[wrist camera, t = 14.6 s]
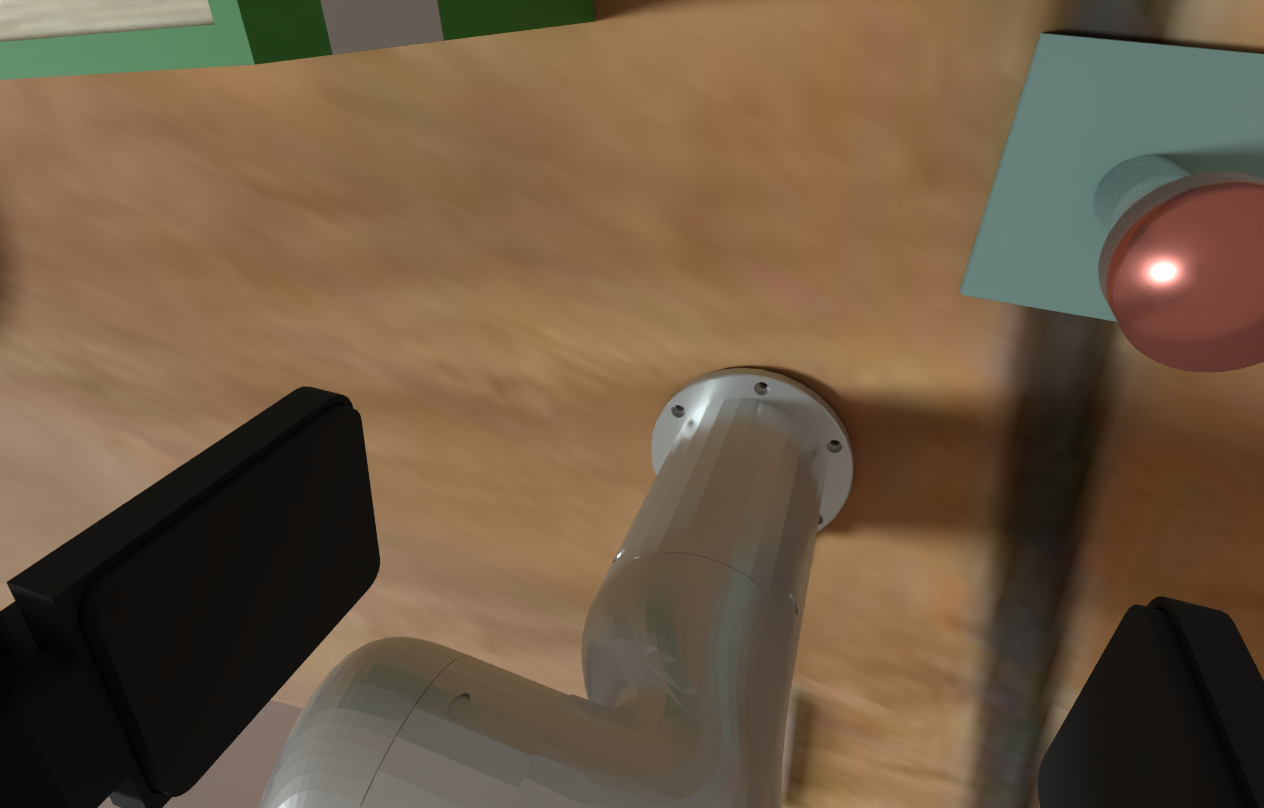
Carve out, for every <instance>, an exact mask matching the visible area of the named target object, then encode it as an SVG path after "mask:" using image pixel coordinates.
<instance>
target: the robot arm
mask: <svg viewBox="0 0 1264 808" xmlns="http://www.w3.org/2000/svg"><path fill="white" fill-rule="evenodd" d="M760 382H764V383H766V384H767V385H762V384H761V383H760ZM679 405H680V406H682V407H683V408H682V407H680V406H679ZM832 440H837V441H838V442H834V441H832ZM651 456H652V465H653V468H654V471H655V475H656V478H655V480H654V482H653V484H652V486H651V488H650V490H649V492H648V494H647V496H646V498H645V500H644V502H643V504H642V506H641V508H640V509H639V511H638V513H637V515H636V517H635V519H634V521H633V523H632V525H631V527H630V529H629V531H628V533H627V535H626V537H625V539H624V541H623V543H622V545H621V547H620V549H619V551H618V553H617V555H616V557H615V559H614V561H613V563H612V565H611V567H610V569H609V570H608V572H607V574H606V576H605V578H604V580H603V582H602V584H601V586H600V588H599V590H598V592H597V594H596V596H595V598H594V600H593V602H592V604H591V607H590V609H589V612H588V615H587V618H586V622H585V627H584V631H583V637H582V669H583V675H584V682H585V688H586V692H587V696H588V700H587V699H584V698H581V697H579V696H576V695H573V694H572V695H567V694H565V693H562V692H560V691H557V690H555V689H552V688H550V687H547V686H545V685H542V684H539V683H537V682H534V681H532V680H529V679H527V678H524V677H522V676H519V675H517V674H514V673H512V672H509V671H507V670H504V669H502V668H499V667H497V666H494V665H492V664H489V663H487V662H484V661H482V660H479V659H477V658H474V657H472V656H469V655H467V654H464V653H462V652H459V651H456V650H454V649H451V648H449V647H446V646H442V645H439V644H436V643H433V642H430V641H426V640H422V639H417V638H409V637H391V638H384V639H380V640H377V641H373V642H370V643H368V644H366V645H364V646H362V647H360V648H359V649H357V650H355V651H353V652H352V653H351V654H349V655H348V656H347V657H345V658H344V659H343V660H342V661H341V662H340V663H339V664H338V665H337V666H336V667H335V668H334V669H333V670H332V671H331V672H330V673H329V674H328V675H327V676H326V678H325V679H324V680H323V681H322V683H321V684H320V685H319V686H318V688H317V689H316V690H315V692H314V693H313V695H312V696H311V698H310V699H309V701H308V702H307V704H306V705H305V707H304V708H303V710H302V712H301V714H300V715H299V717H298V719H297V721H296V723H295V725H294V727H293V729H292V731H291V733H290V735H289V737H288V739H287V740H286V743H285V745H284V747H283V749H282V751H281V753H280V755H279V757H278V760H277V762H276V765H275V767H274V769H273V772H272V774H271V777H270V779H269V782H268V784H267V787H266V789H265V792H264V795H263V798H262V801H261V803H260V806H259V808H782V803H781V788H782V761H783V750H784V739H785V728H786V721H787V713H788V706H789V699H790V692H791V686H792V679H793V673H794V667H795V661H796V654H797V648H798V642H799V636H800V630H801V624H802V618H803V612H804V606H805V600H806V594H807V588H808V582H809V576H810V570H811V564H812V558H813V552H814V546H815V539H816V533H817V532H818V531H820V530H821V529H823V528H824V527H825V526H826V525H827V524H828V523H830V522H831V521H832V520H833V519H834V518H835V517H836V516H837V514H838V513H839V511H840V510H841V509H842V507H843V506H844V504H845V502H846V500H847V497H848V495H849V492H850V490H851V485H852V478H853V465H854V456H853V451H852V446H851V441H850V438H849V436H848V434H847V431H846V429H845V427H844V425H843V423H842V421H841V420H840V419H839V417H838V416H837V414H836V413H835V412H834V410H833V409H832V407H831V406H829V405H828V404H827V403H826V402H825V401H824V400H823V399H822V398H821V397H820V396H819V395H818V394H817V393H815V392H814V391H812V390H811V389H809V388H808V387H806V386H805V385H803V384H802V383H800V382H798V381H795V380H793V379H791V378H789V377H786V376H784V375H782V374H778V373H774V372H770V371H766V370H762V369H752V368H733V369H723V370H719V371H715V372H712V373H708V374H705V375H702V376H700V377H698V378H696V379H695V380H693V381H691V382H689V383H687V384H686V385H685V386H683V387H682V388H681V389H680V390H679V391H677V392H676V393H675V394H674V395H673V396H672V398H671V399H670V400H669V401H668V403H667V404H666V405H665V407H664V408H663V410H662V412H661V414H660V416H659V417H658V419H657V422H656V425H655V428H654V431H653V434H652V442H651ZM379 567H380V555H379V547H378V540H377V532H376V525H375V517H374V510H373V502H372V495H371V487H370V480H369V472H368V465H367V457H366V450H365V442H364V435H363V427H362V420H361V416H360V414H359V412H358V411H357V410H355V409H353V406H352V403H351V401H350V400H349V398H348V397H346V396H344V395H341V394H337V393H333V392H329V391H325V390H321V389H317V388H313V387H300V388H298V389H296V390H294V391H293V392H291V393H290V394H288V395H287V396H285V397H284V398H282V399H281V400H279V401H278V402H276V403H275V404H273V405H272V406H270V407H269V408H267V409H266V410H264V411H263V412H261V413H260V414H258V415H257V416H255V417H254V418H252V419H251V420H249V421H248V422H246V423H245V424H243V425H242V426H240V427H239V428H237V429H236V430H234V431H233V432H231V433H230V434H228V435H227V436H225V437H224V438H222V439H221V440H219V441H218V442H216V443H215V444H213V445H212V446H210V447H209V448H207V449H206V450H204V451H203V452H201V453H200V454H198V455H197V456H195V457H194V458H192V459H191V460H189V461H188V462H186V463H185V464H183V465H182V466H180V467H179V468H177V469H176V470H174V471H173V472H171V473H170V474H168V475H167V476H165V477H164V478H162V479H161V480H159V481H158V482H156V483H155V484H153V485H152V486H150V487H149V488H147V489H146V490H144V491H143V492H141V493H140V494H138V495H137V496H135V497H134V498H132V499H131V500H129V501H128V502H126V503H125V504H123V505H122V506H120V507H119V508H117V509H116V510H114V511H113V512H111V513H110V514H108V515H107V516H105V517H104V518H102V519H101V520H99V521H98V522H96V523H95V524H93V525H92V526H90V527H89V528H87V529H86V530H84V531H83V532H81V533H80V534H78V535H77V536H75V537H74V538H72V539H71V540H69V541H68V542H66V543H65V544H63V545H62V546H60V547H59V548H57V549H56V550H54V551H53V552H51V553H50V554H48V555H47V556H45V557H44V558H42V559H41V560H39V561H38V562H36V563H35V564H33V565H32V566H30V567H29V568H27V569H26V570H24V571H23V572H21V573H20V574H18V575H17V576H15V577H14V578H12V579H11V580H9V581H8V582H7V584H8V586H9V588H10V591H11V593H12V595H13V597H14V599H15V602H13V603H12V604H10V605H9V606H7V607H6V608H5V609H3V610H2V611H0V808H97V807H98V806H99V805H100V804H101V803H102V802H103V801H104V800H105V799H106V798H107V797H108V796H109V797H110V798H111V801H112V803H113V804H114V805H116V806H119V807H121V808H163V806H164V805H165V804H166V803H167V802H168V801H169V800H170V799H171V798H172V797H177V796H180V795H182V794H184V793H185V792H187V791H188V790H189V789H191V788H192V787H193V786H194V785H195V784H196V783H197V782H198V781H199V779H200V778H201V777H202V776H203V775H204V774H205V773H206V772H207V770H208V769H209V768H210V767H211V766H212V765H213V764H214V762H215V761H216V760H217V759H218V758H219V757H220V756H221V755H222V753H223V752H224V751H225V750H226V749H227V748H228V747H229V745H230V744H231V743H232V742H233V741H234V740H235V739H236V738H237V737H238V735H239V734H240V733H241V732H242V731H243V730H244V729H245V728H246V726H247V725H248V724H249V723H250V722H251V721H252V720H253V719H254V717H255V716H256V715H257V714H258V713H259V712H260V711H261V709H262V708H263V707H264V706H265V705H266V704H267V703H268V702H269V701H270V699H271V698H272V697H273V696H274V695H275V694H276V693H277V692H278V690H279V689H280V688H281V687H282V686H283V685H284V684H285V683H286V681H287V680H288V679H289V678H290V677H291V676H292V675H293V674H294V672H295V671H296V670H297V669H298V668H299V667H300V666H301V665H302V663H303V662H304V661H305V660H306V659H307V658H308V657H309V656H310V654H311V653H312V652H313V651H314V650H315V649H316V648H317V647H318V645H319V644H320V643H321V642H322V641H323V640H324V639H325V637H326V636H327V635H328V634H329V633H330V632H331V631H332V630H333V628H334V627H335V626H336V625H337V624H338V623H339V622H340V621H341V619H342V618H343V617H344V616H345V615H346V614H347V613H348V612H349V610H350V609H351V608H352V607H353V606H354V605H355V604H356V603H357V601H358V600H359V599H360V598H361V597H362V596H363V595H364V594H365V592H366V591H367V590H368V589H369V588H370V587H371V585H372V584H373V583H374V581H375V579H376V577H377V574H378V571H379ZM1038 796H1039V802H1040V808H1264V681H1263V679H1262V677H1261V675H1260V673H1259V671H1258V669H1257V667H1256V665H1255V663H1254V661H1253V659H1252V657H1251V655H1250V653H1249V651H1248V649H1247V647H1246V645H1245V643H1244V641H1243V639H1242V637H1241V635H1240V633H1239V632H1238V630H1237V628H1236V626H1235V624H1234V622H1233V621H1232V619H1231V618H1230V617H1229V615H1228V614H1226V613H1224V612H1222V611H1220V610H1216V609H1212V608H1208V607H1204V606H1199V605H1195V604H1191V603H1187V602H1183V601H1179V600H1175V599H1171V598H1167V597H1156V598H1155V599H1153V600H1152V601H1151V602H1150V603H1149V604H1148V606H1147V607H1146V606H1142V605H1133V606H1132V607H1130V608H1129V609H1128V611H1127V612H1126V613H1125V615H1124V617H1123V619H1122V620H1121V622H1120V624H1119V626H1118V627H1117V629H1116V631H1115V633H1114V634H1113V636H1112V638H1111V640H1110V642H1109V643H1108V645H1107V647H1106V649H1105V650H1104V652H1103V654H1102V656H1101V657H1100V659H1099V661H1098V663H1097V664H1096V666H1095V668H1094V670H1093V671H1092V673H1091V675H1090V677H1089V678H1088V680H1087V682H1086V684H1085V685H1084V687H1083V689H1082V691H1081V693H1080V694H1079V696H1078V698H1077V700H1076V701H1075V703H1074V705H1073V707H1072V708H1071V710H1070V712H1069V714H1068V715H1067V717H1066V719H1065V721H1064V722H1063V724H1062V726H1061V728H1060V729H1059V731H1058V733H1057V735H1056V736H1055V738H1054V740H1053V742H1052V744H1051V745H1050V747H1049V749H1048V751H1047V752H1046V754H1045V756H1044V758H1043V760H1042V762H1041V765H1040V769H1039V775H1038Z"/></svg>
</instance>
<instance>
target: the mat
mask: <svg viewBox="0 0 1264 808" xmlns="http://www.w3.org/2000/svg"><path fill="white" fill-rule="evenodd" d="M1142 155H1158V156H1163V157H1166V158H1169V159H1171V160H1173V161H1174V162H1175V163H1177V164H1178V165H1179V166H1181V167H1182V168H1183V169H1185V170H1186V171H1187V172H1188V173H1190V174H1191V175H1194V174H1200V173H1206V172H1217V171H1229V172H1240V173H1246V174H1251V175H1254V176H1257V177H1260V178H1263V179H1264V54H1263V53H1252V52H1242V51H1231V50H1221V49H1210V48H1200V47H1189V46H1178V45H1168V44H1157V43H1147V42H1136V41H1125V40H1115V39H1104V38H1094V37H1083V36H1072V35H1062V34H1051V33H1041V34H1040V37H1039V40H1038V43H1037V47H1036V50H1035V53H1034V56H1033V59H1032V62H1031V66H1030V69H1029V72H1028V75H1027V78H1026V82H1025V85H1024V88H1023V91H1022V94H1021V97H1020V101H1019V104H1018V107H1017V110H1016V113H1015V116H1014V120H1013V123H1012V126H1011V129H1010V132H1009V136H1008V139H1007V142H1006V145H1005V148H1004V151H1003V155H1002V158H1001V161H1000V164H999V167H998V171H997V174H996V177H995V180H994V183H993V186H992V190H991V193H990V196H989V199H988V202H987V205H986V209H985V212H984V215H983V218H982V221H981V225H980V228H979V231H978V234H977V237H976V240H975V244H974V247H973V250H972V253H971V256H970V260H969V263H968V266H967V269H966V272H965V275H964V279H963V282H962V285H961V288H960V292H961V295H966V296H971V297H977V298H983V299H989V300H994V301H1000V302H1006V303H1012V304H1018V305H1023V306H1029V307H1035V308H1041V309H1047V310H1052V311H1058V312H1064V313H1070V314H1076V315H1081V316H1087V317H1093V318H1099V319H1104V320H1110V321H1116V322H1117V320H1116V318H1115V316H1114V314H1113V313H1112V311H1111V309H1110V307H1109V305H1108V303H1107V301H1106V299H1105V297H1104V296H1103V293H1102V290H1101V287H1100V283H1099V277H1098V264H1099V258H1100V253H1101V250H1102V247H1103V244H1104V242H1105V240H1106V238H1107V236H1108V234H1107V233H1106V231H1105V230H1104V228H1103V227H1102V225H1101V224H1100V222H1099V221H1098V219H1097V217H1096V215H1095V212H1094V208H1093V199H1094V194H1095V190H1096V188H1097V186H1098V184H1099V183H1100V181H1101V179H1102V178H1103V177H1104V176H1105V175H1106V174H1107V173H1108V172H1109V171H1110V170H1111V169H1112V168H1113V167H1115V166H1116V165H1118V164H1119V163H1121V162H1123V161H1125V160H1127V159H1130V158H1133V157H1136V156H1142Z"/></svg>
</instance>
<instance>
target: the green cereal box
mask: <svg viewBox="0 0 1264 808" xmlns="http://www.w3.org/2000/svg"><path fill="white" fill-rule="evenodd" d="M594 21H595V18H594V6H593V0H0V80H3V79H20V78H37V77H53V76H70V75H87V74H104V73H120V72H137V71H154V70H170V69H187V68H204V67H221V66H237V65H254V64H262V63H270V62H278V61H286V60H294V59H302V58H310V57H318V56H326V55H333V54H341V53H349V52H357V51H365V50H373V49H381V48H389V47H397V46H405V45H412V44H420V43H428V42H436V41H444V40H452V39H460V38H468V37H476V36H484V35H491V34H499V33H507V32H515V31H523V30H531V29H539V28H547V27H555V26H562V25H570V24H578V23H586V22H594Z"/></svg>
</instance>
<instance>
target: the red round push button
mask: <svg viewBox="0 0 1264 808" xmlns="http://www.w3.org/2000/svg"><path fill="white" fill-rule="evenodd" d="M1093 208H1094V212H1095V215H1096V217H1097V219H1098V221H1099V222H1100V224H1101V225H1102V227H1103V228H1104V230H1105V231H1106V233H1107V234H1108V236H1107V238H1106V240H1105V242H1104V244H1103V247H1102V250H1101V253H1100V258H1099V264H1098V277H1099V283H1100V287H1101V290H1102V293H1103V296H1104V297H1105V299H1106V301H1107V303H1108V305H1109V307H1110V309H1111V311H1112V313H1113V314H1114V316H1115V318H1116V320H1117V322H1118V324H1119V326H1120V328H1121V329H1122V331H1123V333H1124V335H1125V336H1126V338H1127V339H1128V340H1129V341H1130V343H1131V344H1132V345H1133V346H1134V347H1135V348H1136V349H1138V350H1139V351H1140V352H1141V353H1143V354H1144V355H1146V356H1147V357H1148V358H1150V359H1152V360H1154V361H1156V362H1158V363H1161V364H1163V365H1166V366H1169V367H1172V368H1176V369H1180V370H1186V371H1194V372H1221V371H1229V370H1236V369H1241V368H1245V367H1249V366H1252V365H1256V364H1258V363H1261V362H1264V179H1263V178H1260V177H1257V176H1254V175H1251V174H1246V173H1240V172H1229V171H1217V172H1206V173H1200V174H1194V175H1191V174H1190V173H1188V172H1187V171H1186V170H1185V169H1183V168H1182V167H1181V166H1179V165H1178V164H1177V163H1175V162H1174V161H1173V160H1171V159H1169V158H1166V157H1163V156H1158V155H1142V156H1136V157H1133V158H1130V159H1127V160H1125V161H1123V162H1121V163H1119V164H1118V165H1116V166H1115V167H1113V168H1112V169H1111V170H1110V171H1109V172H1108V173H1107V174H1106V175H1105V176H1104V177H1103V178H1102V179H1101V181H1100V183H1099V184H1098V186H1097V188H1096V190H1095V194H1094V199H1093Z"/></svg>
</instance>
